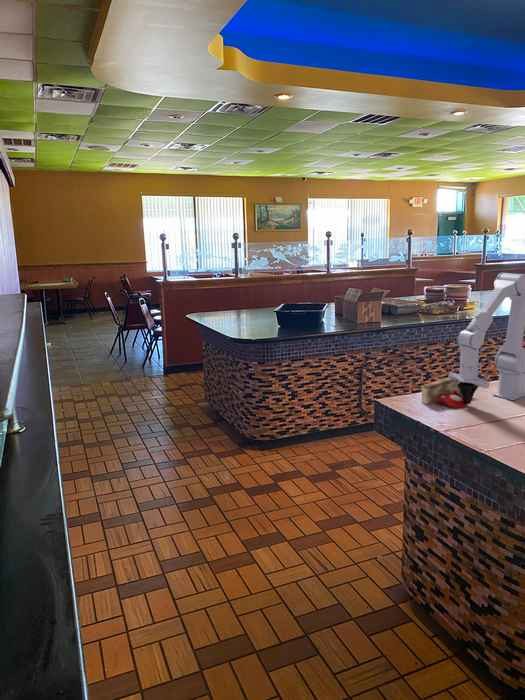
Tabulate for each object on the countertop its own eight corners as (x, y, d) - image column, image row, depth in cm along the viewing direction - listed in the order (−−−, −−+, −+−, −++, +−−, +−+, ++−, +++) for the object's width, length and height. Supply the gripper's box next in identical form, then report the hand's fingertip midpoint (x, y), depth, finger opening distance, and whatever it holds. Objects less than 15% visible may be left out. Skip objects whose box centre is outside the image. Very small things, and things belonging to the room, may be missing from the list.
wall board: (457, 391, 198) (458, 373, 196) (464, 393, 196) (464, 375, 194) (421, 402, 187) (422, 384, 186) (428, 404, 185) (428, 386, 183)
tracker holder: (470, 406, 179) (440, 399, 180) (465, 417, 181) (436, 410, 182) (464, 388, 190) (436, 381, 191) (460, 398, 192) (433, 391, 193)
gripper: (443, 363, 183) (442, 400, 186) (480, 371, 171) (478, 411, 174) (456, 359, 187) (454, 396, 190) (494, 367, 175) (491, 406, 178)
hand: (467, 403), depth 182 cm, fingers closed
